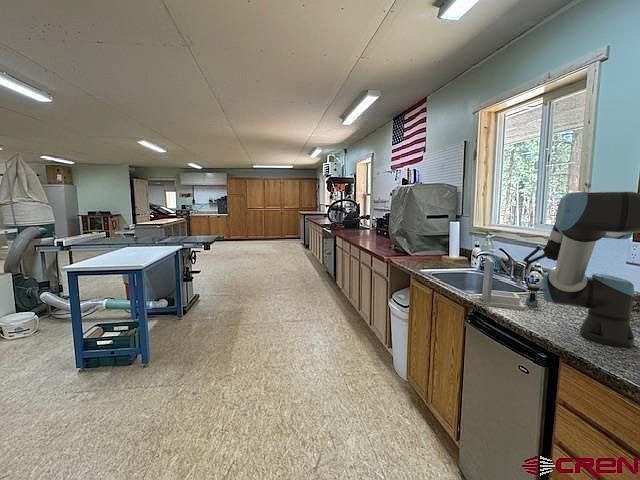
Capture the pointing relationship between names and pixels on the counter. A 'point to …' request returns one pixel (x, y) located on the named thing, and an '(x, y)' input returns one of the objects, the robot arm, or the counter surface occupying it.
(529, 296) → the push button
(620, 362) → the counter surface
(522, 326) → the counter surface
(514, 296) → the holder
